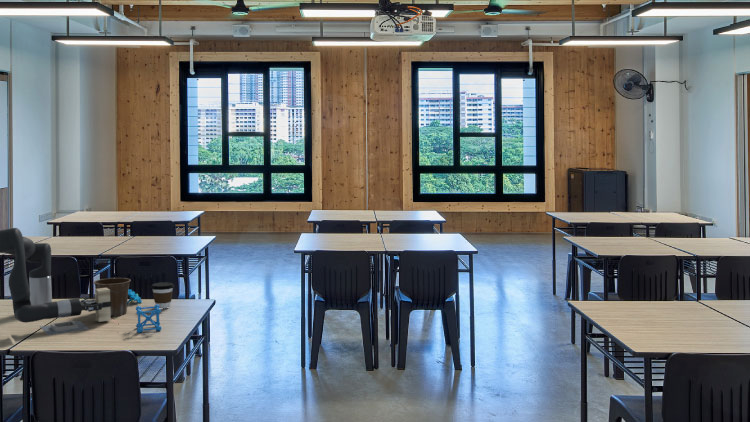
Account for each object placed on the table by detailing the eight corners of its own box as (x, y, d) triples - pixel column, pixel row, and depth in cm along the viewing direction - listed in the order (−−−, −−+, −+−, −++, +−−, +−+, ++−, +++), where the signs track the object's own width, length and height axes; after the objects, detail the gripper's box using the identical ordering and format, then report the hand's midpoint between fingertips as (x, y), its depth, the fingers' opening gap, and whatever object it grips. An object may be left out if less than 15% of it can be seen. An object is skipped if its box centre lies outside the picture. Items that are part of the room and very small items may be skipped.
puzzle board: (40, 329, 268) (39, 323, 268) (79, 323, 279) (79, 317, 278) (48, 337, 256) (48, 331, 256) (89, 330, 266) (89, 325, 266)
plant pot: (110, 308, 305) (109, 276, 304) (138, 311, 301) (137, 278, 300) (86, 316, 290) (85, 282, 288) (116, 319, 286) (115, 285, 284)
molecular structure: (136, 327, 272) (135, 305, 271) (159, 325, 276) (159, 303, 275) (137, 333, 263) (136, 310, 262) (161, 331, 267) (161, 308, 266)
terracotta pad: (87, 322, 279) (87, 321, 279) (110, 319, 285) (110, 318, 285) (95, 328, 270) (95, 327, 270) (119, 324, 276) (119, 323, 276)
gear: (139, 302, 311) (125, 288, 311) (130, 311, 311) (116, 296, 311) (146, 300, 322) (132, 287, 322) (137, 308, 322) (124, 295, 322)
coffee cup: (165, 304, 315) (165, 281, 314) (179, 307, 309) (178, 283, 308) (146, 308, 306) (146, 284, 305) (160, 311, 300) (159, 287, 299)
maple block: (95, 319, 278) (94, 289, 276) (107, 317, 281) (106, 287, 280) (98, 322, 274) (98, 290, 273) (110, 320, 277) (110, 289, 276)
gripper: (72, 302, 262) (113, 297, 273) (63, 296, 273) (104, 291, 284) (72, 320, 262) (114, 314, 273) (64, 313, 273) (104, 307, 284)
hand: (108, 302), depth 278 cm, fingers closed on maple block, 5 cm apart
